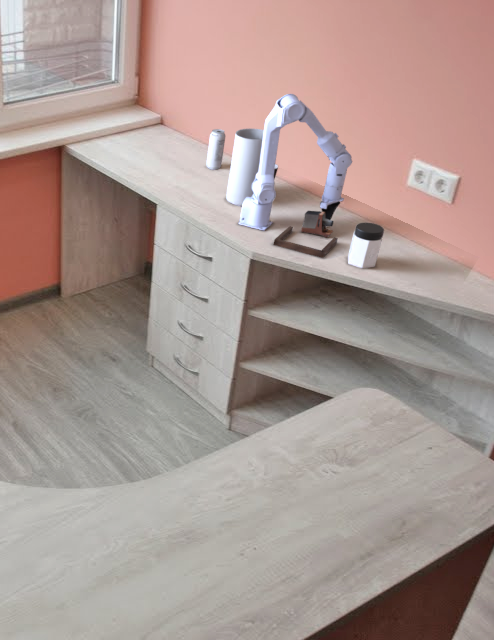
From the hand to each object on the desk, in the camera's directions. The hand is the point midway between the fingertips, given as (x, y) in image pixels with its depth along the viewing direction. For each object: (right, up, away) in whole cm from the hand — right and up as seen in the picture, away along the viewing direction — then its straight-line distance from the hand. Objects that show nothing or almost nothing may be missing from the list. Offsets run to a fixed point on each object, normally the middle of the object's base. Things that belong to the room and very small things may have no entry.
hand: (325, 221), depth 276 cm
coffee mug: (-13, +17, +29) cm, 36 cm away
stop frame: (-11, -9, -11) cm, 18 cm away
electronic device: (-5, -5, -4) cm, 8 cm away
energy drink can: (-26, +30, +49) cm, 63 cm away
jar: (+2, -17, -23) cm, 29 cm away
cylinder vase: (-23, +11, +20) cm, 32 cm away
